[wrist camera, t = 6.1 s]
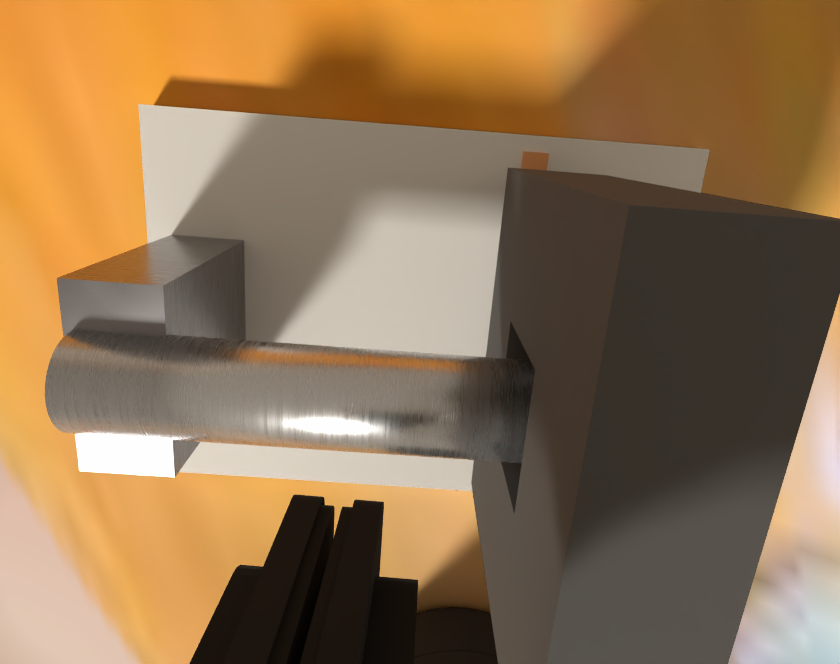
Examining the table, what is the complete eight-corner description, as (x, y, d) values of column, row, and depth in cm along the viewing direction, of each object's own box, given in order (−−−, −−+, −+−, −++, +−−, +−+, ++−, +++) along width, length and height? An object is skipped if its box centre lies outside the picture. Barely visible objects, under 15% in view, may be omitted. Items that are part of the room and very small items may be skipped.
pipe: (660, 270, 20) (804, 349, 12) (632, 405, 22) (746, 548, 14) (171, 234, 20) (16, 293, 12) (179, 374, 21) (45, 503, 14)
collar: (605, 175, 18) (860, 222, 8) (553, 487, 21) (680, 819, 11) (508, 167, 18) (629, 205, 8) (471, 482, 21) (519, 810, 11)
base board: (696, 149, 20) (711, 149, 19) (625, 487, 24) (634, 503, 23) (152, 106, 19) (136, 103, 18) (173, 457, 23) (161, 472, 22)
